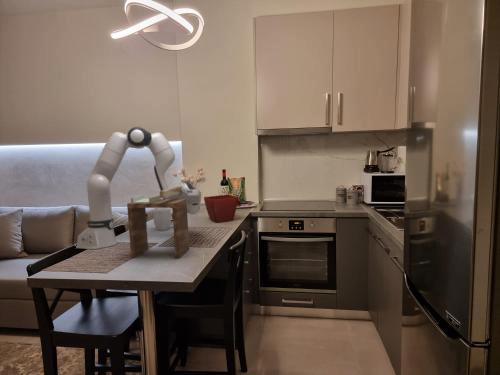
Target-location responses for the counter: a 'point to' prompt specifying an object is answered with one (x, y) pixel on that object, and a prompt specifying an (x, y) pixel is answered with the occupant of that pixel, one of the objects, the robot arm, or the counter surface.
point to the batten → (170, 192)
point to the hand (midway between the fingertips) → (176, 189)
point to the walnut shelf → (140, 227)
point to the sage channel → (141, 199)
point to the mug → (162, 218)
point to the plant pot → (221, 207)
